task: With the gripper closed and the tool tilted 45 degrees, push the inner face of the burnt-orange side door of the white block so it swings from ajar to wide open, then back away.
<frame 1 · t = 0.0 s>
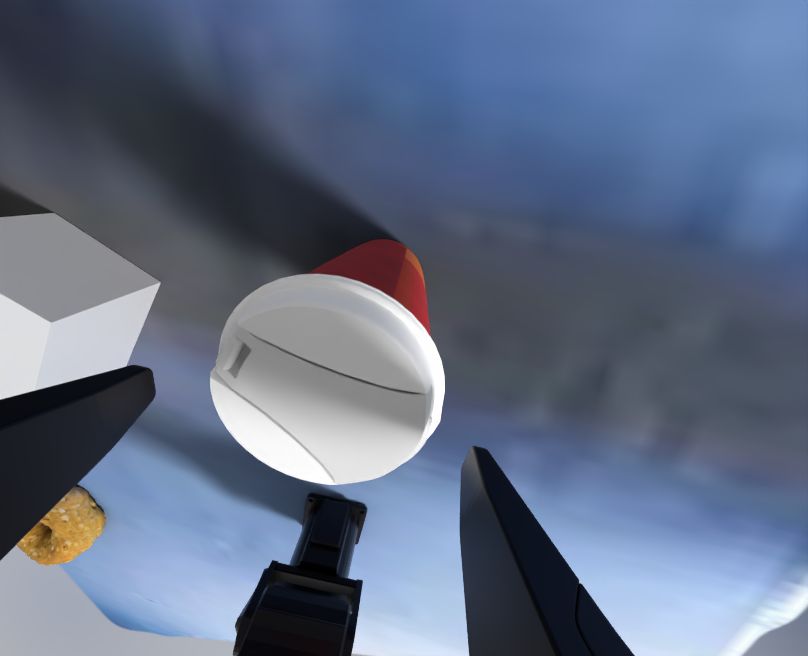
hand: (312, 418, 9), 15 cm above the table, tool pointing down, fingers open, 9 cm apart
bagel: (73, 503, 38), on the table
white block: (94, 298, 25), on the table
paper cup: (385, 278, 22), on the table
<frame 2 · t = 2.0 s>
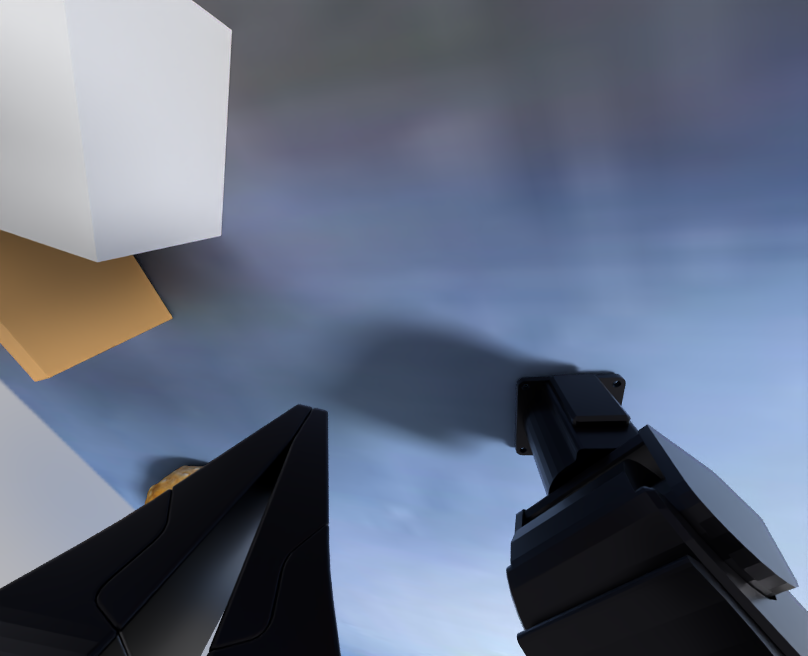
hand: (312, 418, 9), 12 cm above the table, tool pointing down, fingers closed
side door: (65, 277, 17), point 4 cm above the table, hinge at 55.0°
bagel: (212, 495, 30), on the table
white block: (154, 120, 17), on the table
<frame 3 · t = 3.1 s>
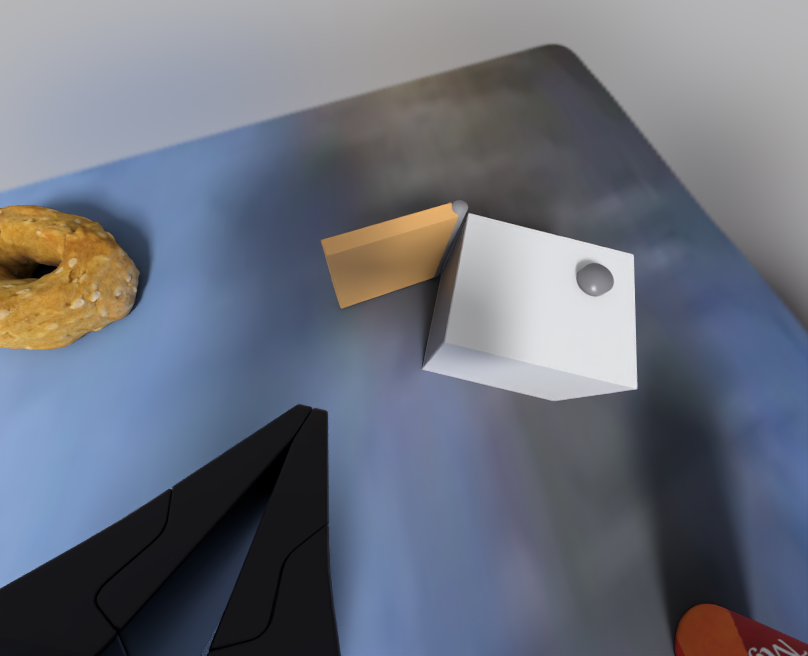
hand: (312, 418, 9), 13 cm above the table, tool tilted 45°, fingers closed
side door: (393, 259, 20), point 4 cm above the table, hinge at 55.0°
bagel: (69, 288, 22), on the table
white block: (494, 334, 24), on the table
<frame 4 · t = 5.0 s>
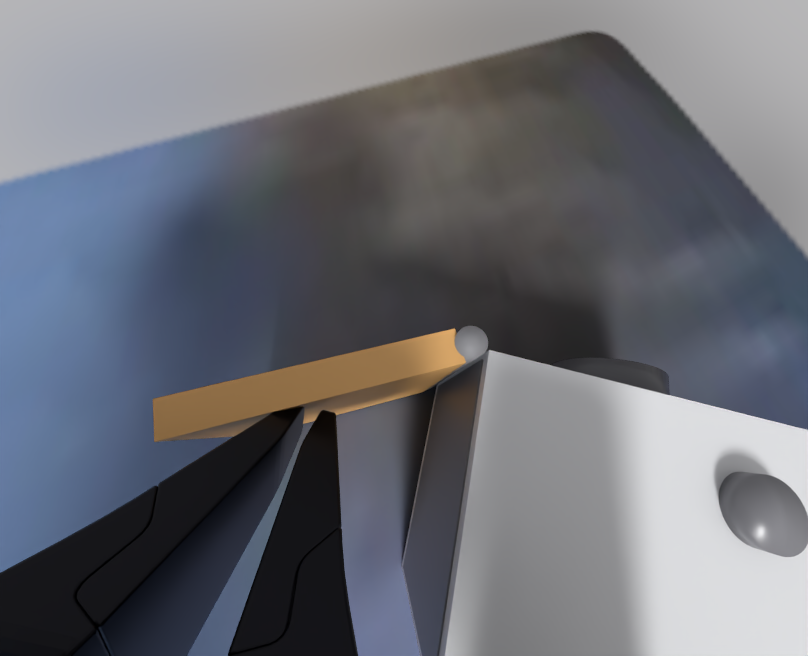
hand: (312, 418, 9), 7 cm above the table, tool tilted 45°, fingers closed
side door: (345, 387, 11), point 4 cm above the table, hinge at 62.0°, touching gripper
white block: (522, 491, 15), on the table
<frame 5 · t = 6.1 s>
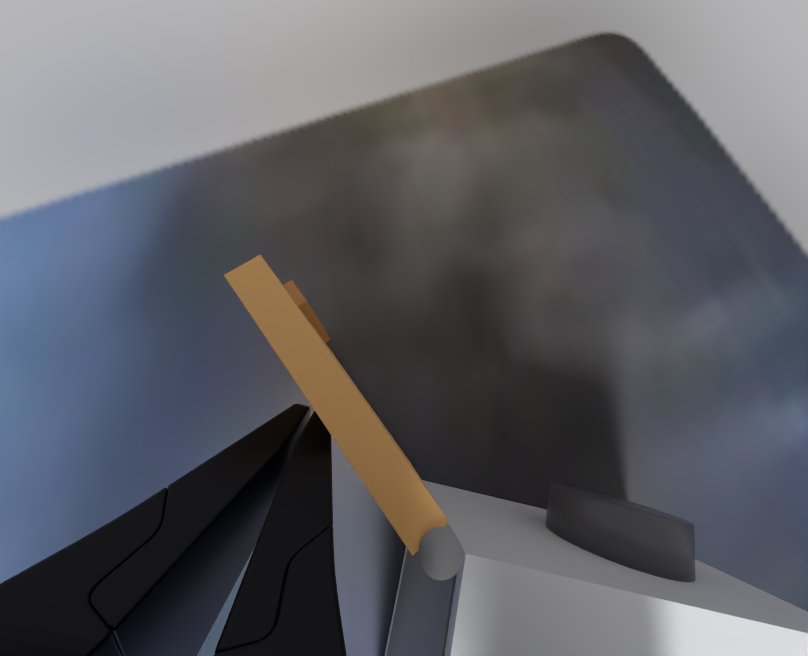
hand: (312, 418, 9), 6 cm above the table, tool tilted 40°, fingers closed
side door: (354, 403, 11), point 4 cm above the table, hinge at 129.9°, touching gripper
white block: (514, 609, 13), on the table
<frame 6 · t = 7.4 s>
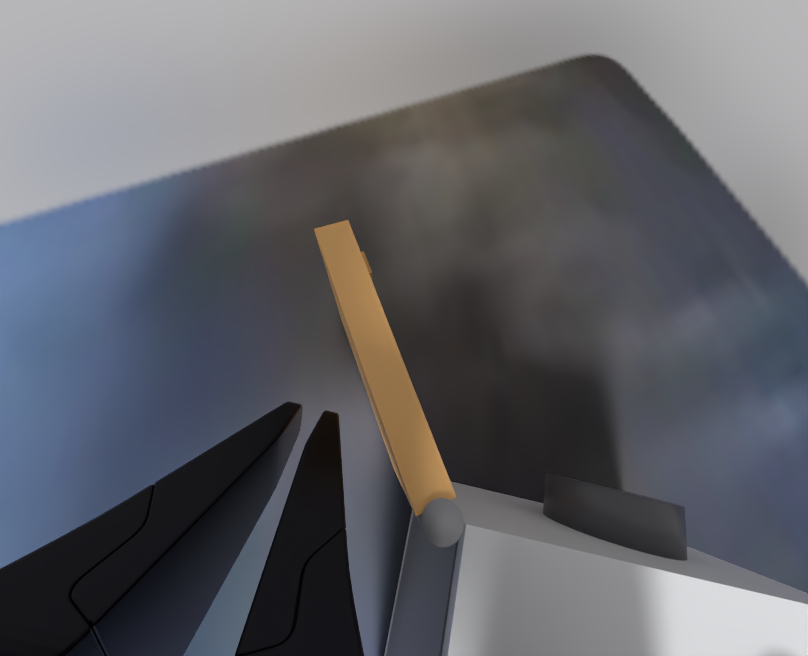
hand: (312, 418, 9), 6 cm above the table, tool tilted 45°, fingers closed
side door: (383, 380, 11), point 4 cm above the table, hinge at 145.8°
white block: (514, 603, 13), on the table
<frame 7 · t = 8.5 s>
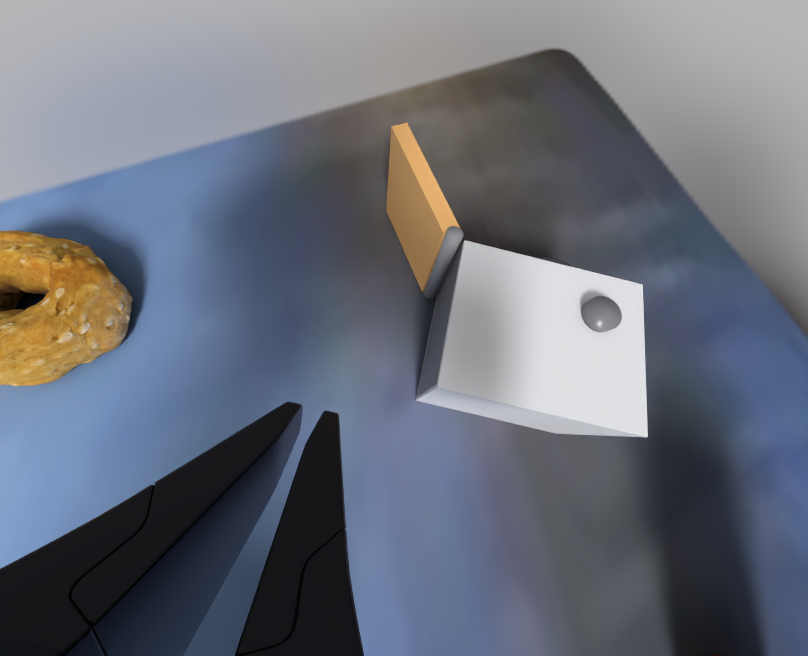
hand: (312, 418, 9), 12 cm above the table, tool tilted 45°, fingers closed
side door: (419, 221, 21), point 4 cm above the table, hinge at 145.8°
bagel: (58, 316, 21), on the table
white block: (493, 361, 22), on the table
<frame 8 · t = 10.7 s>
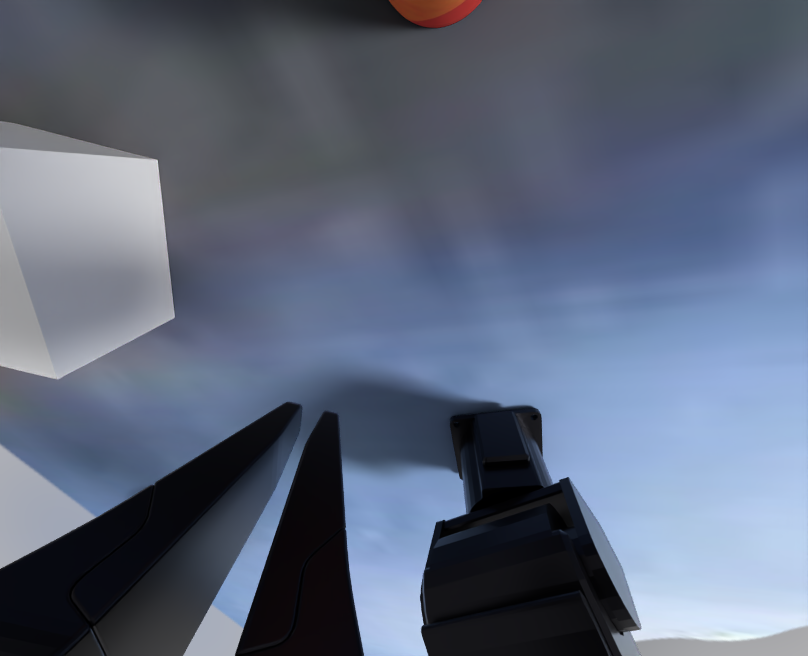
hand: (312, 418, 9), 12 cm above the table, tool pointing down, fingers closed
white block: (104, 231, 19), on the table
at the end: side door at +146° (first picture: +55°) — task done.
